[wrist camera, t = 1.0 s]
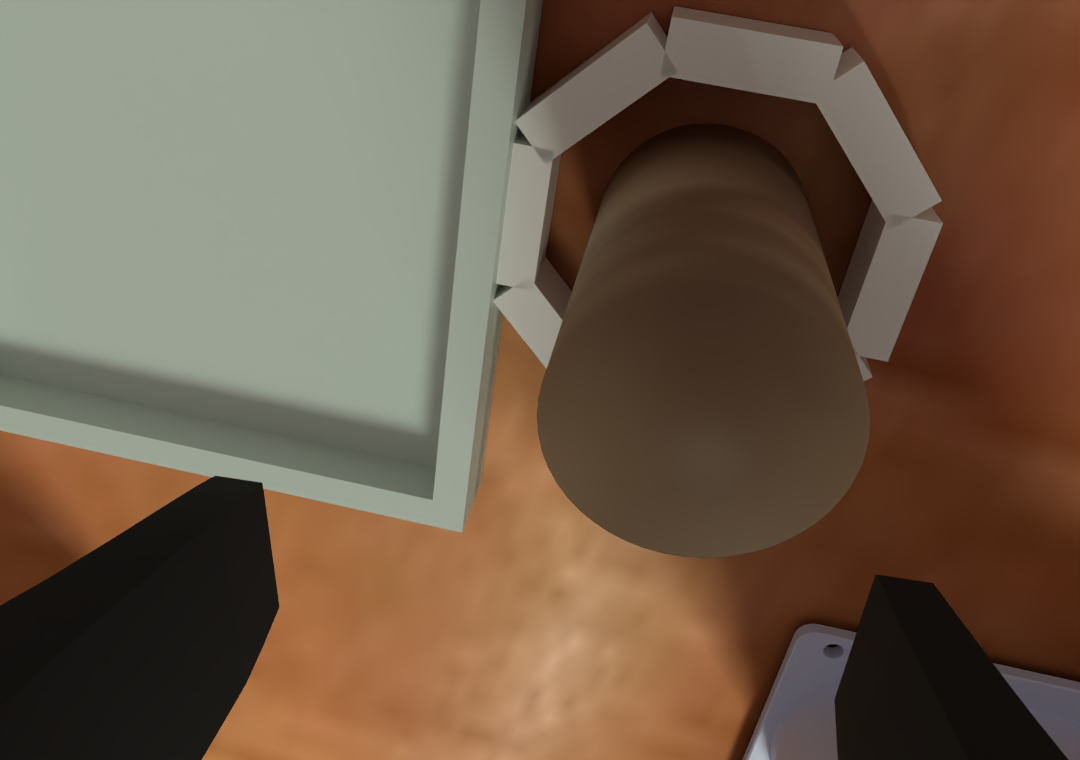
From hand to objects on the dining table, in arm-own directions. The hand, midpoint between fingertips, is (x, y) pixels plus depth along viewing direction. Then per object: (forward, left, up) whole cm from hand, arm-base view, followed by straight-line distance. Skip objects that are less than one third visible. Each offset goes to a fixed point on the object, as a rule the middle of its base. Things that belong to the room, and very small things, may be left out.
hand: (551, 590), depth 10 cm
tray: (+10, 0, -10) cm, 14 cm away
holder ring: (-1, -1, -10) cm, 11 cm away
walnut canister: (-1, -1, -10) cm, 11 cm away
